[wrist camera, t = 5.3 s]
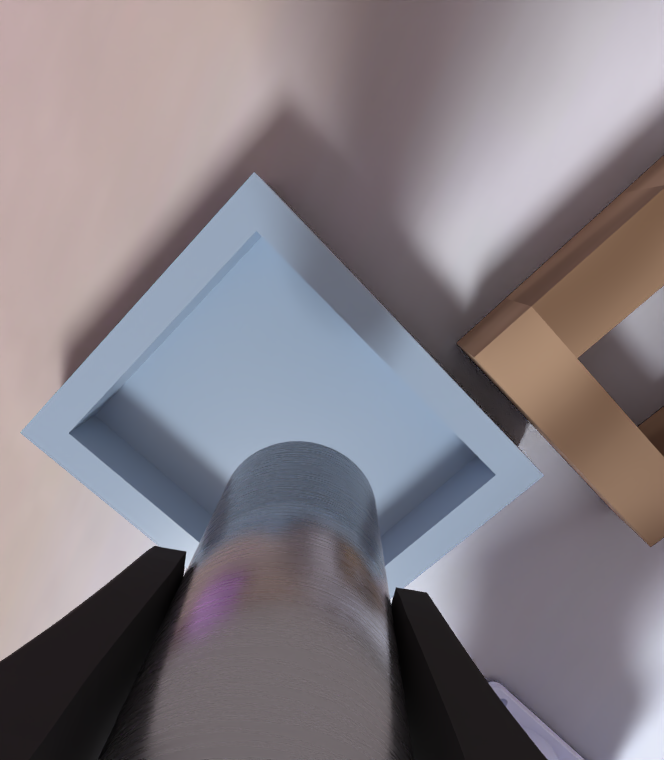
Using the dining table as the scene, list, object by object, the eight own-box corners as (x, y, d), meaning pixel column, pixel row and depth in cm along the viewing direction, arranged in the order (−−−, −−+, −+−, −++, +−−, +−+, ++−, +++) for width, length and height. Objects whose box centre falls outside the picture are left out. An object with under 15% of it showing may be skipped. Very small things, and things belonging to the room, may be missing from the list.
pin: (408, 517, 12) (522, 952, 5) (297, 604, 13) (239, 1102, 6) (302, 409, 12) (232, 717, 4) (190, 508, 13) (-48, 927, 5)
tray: (518, 447, 19) (544, 475, 17) (309, 619, 22) (305, 666, 19) (266, 182, 17) (254, 171, 15) (59, 409, 19) (20, 432, 17)
